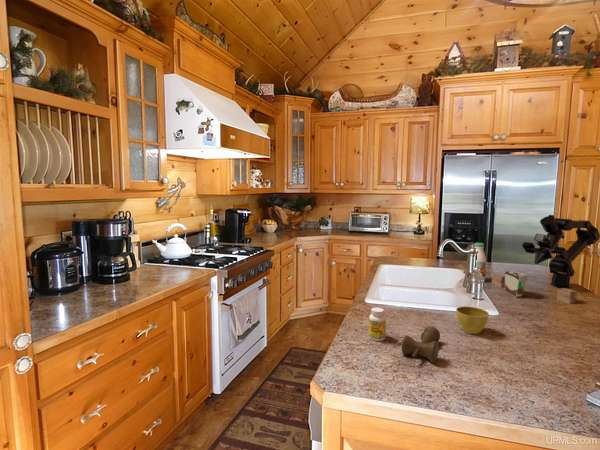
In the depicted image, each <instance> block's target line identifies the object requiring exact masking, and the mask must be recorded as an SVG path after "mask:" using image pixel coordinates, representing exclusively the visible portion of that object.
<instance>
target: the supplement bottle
mask: <svg viewBox="0 0 600 450" xmlns="http://www.w3.org/2000/svg"><path fill="white" fill-rule="evenodd" d="M370 311H371V312H370V313H371V314H370V315H368V337H369V339H370V340H372V341H376V342H380V341H384V340H385V339H386V329H387V318H386V316H385V310H384V308H381V307H372V308H371V309H370Z"/></svg>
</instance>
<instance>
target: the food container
mask: <svg viewBox="0 0 600 450" xmlns="http://www.w3.org/2000/svg"><path fill="white" fill-rule="evenodd" d="M503 274H504V276H505V287H504V292H505V293H507V294H508V295H510V296H512V297H514V298H515V299H520V298H523V297H524V296H523V295H524V291H525V287H526V282H527V281H528V276H527V274H526V273H524V272H519V271H514V270H504V273H503Z"/></svg>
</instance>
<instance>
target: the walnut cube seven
mask: <svg viewBox="0 0 600 450" xmlns="http://www.w3.org/2000/svg"><path fill="white" fill-rule="evenodd" d="M577 295H578V291H577V290H572V289H571V288H558V289H557V294H556V301H558V302H561V303H565V304H569V305H570V304H575V303H577Z"/></svg>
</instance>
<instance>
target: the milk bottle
mask: <svg viewBox="0 0 600 450" xmlns="http://www.w3.org/2000/svg"><path fill="white" fill-rule="evenodd" d="M474 245H475V247H476V248H477V250H478V253H477V260H476V268H479V269H480V270H481V273H482V275H483V278H484V282H485V280H486V274H487V273H486V272H487V271H486V270H487V257H486V254H485V251H484V248H485V243H483V242H475V243H474V244H473V246H474ZM475 247H474V248H475Z"/></svg>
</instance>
